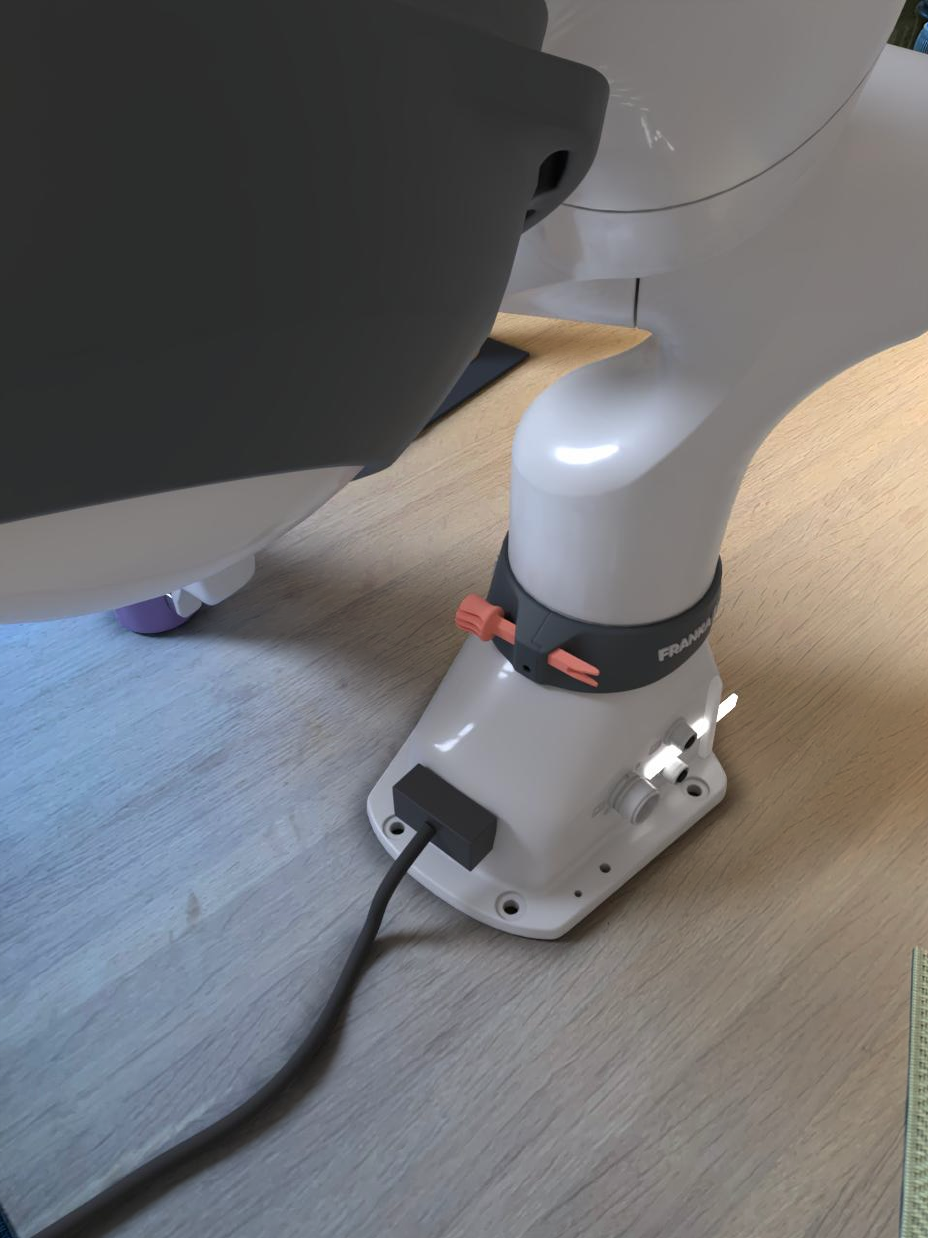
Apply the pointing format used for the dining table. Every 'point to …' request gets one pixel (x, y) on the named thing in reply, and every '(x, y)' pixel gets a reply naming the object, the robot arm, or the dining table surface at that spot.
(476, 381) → the placemat
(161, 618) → the purple cylinder puck
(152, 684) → the dining table surface
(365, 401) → the robot arm
